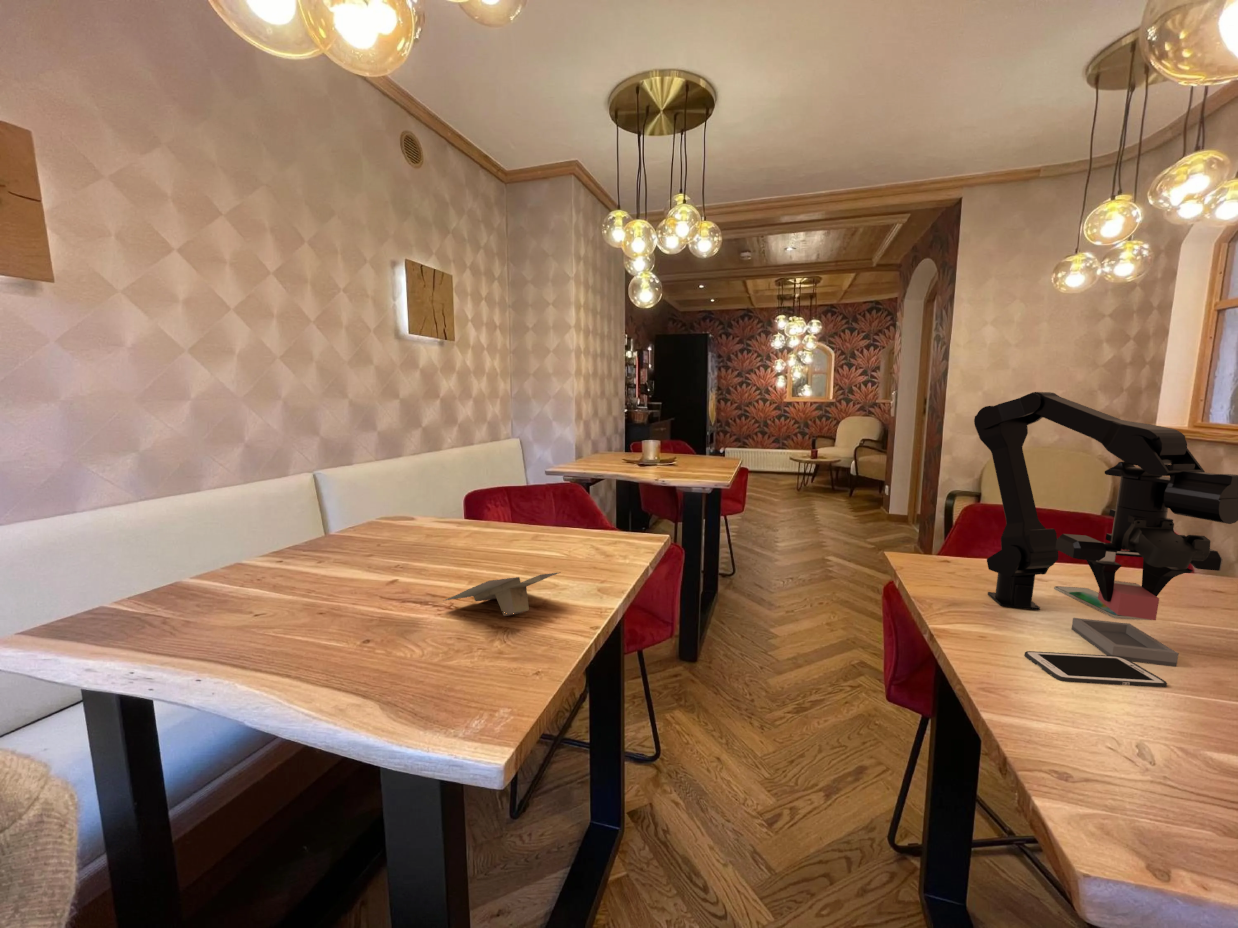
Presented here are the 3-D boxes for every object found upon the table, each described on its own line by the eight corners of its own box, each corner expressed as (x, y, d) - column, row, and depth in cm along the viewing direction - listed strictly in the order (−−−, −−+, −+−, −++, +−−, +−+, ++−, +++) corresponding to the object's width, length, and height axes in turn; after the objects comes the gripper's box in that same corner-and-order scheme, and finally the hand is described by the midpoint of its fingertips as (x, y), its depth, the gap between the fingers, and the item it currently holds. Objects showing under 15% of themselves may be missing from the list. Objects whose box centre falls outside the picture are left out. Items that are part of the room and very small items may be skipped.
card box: (1155, 620, 79) (1159, 597, 79) (1117, 614, 81) (1121, 592, 80) (1132, 603, 85) (1136, 582, 85) (1097, 598, 87) (1101, 578, 87)
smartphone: (1087, 587, 109) (1156, 618, 94) (1087, 591, 109) (1155, 622, 94) (1052, 585, 110) (1114, 615, 95) (1051, 589, 110) (1114, 620, 95)
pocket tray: (1071, 629, 90) (1073, 617, 90) (1127, 635, 88) (1129, 623, 88) (1111, 658, 80) (1113, 645, 80) (1176, 666, 78) (1178, 653, 78)
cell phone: (1021, 656, 81) (1021, 650, 81) (1122, 661, 80) (1123, 655, 80) (1058, 683, 73) (1059, 677, 73) (1170, 690, 72) (1171, 683, 72)
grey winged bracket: (451, 647, 89) (493, 609, 81) (439, 600, 92) (479, 559, 84) (529, 631, 100) (573, 597, 92) (516, 590, 104) (557, 554, 96)
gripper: (1102, 515, 75) (1087, 616, 78) (1266, 525, 71) (1245, 632, 73) (1060, 499, 86) (1047, 589, 88) (1199, 508, 82) (1182, 602, 84)
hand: (1126, 602), depth 83 cm, fingers closed on card box, 5 cm apart
